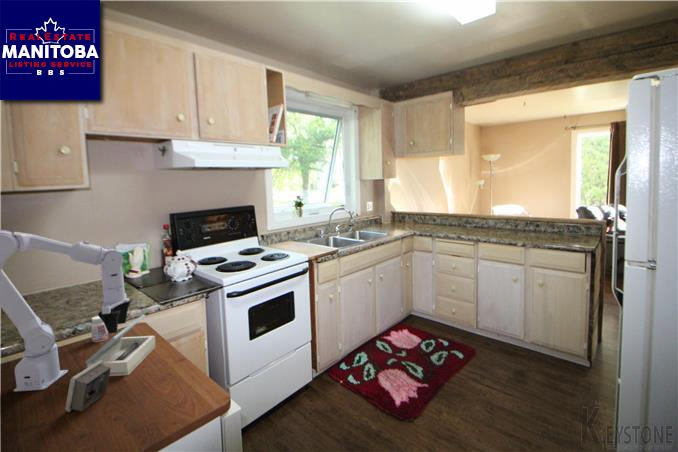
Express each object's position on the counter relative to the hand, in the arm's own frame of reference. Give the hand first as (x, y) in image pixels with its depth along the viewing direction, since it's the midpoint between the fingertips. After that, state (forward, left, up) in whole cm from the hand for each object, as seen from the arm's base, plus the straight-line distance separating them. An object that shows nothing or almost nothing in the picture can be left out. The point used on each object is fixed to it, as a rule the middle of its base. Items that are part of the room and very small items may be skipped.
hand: (117, 327), depth 110 cm
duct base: (-3, -3, -10) cm, 11 cm away
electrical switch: (-24, -5, -10) cm, 26 cm away
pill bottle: (+15, +15, -10) cm, 23 cm away
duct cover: (-3, -2, -2) cm, 4 cm away
